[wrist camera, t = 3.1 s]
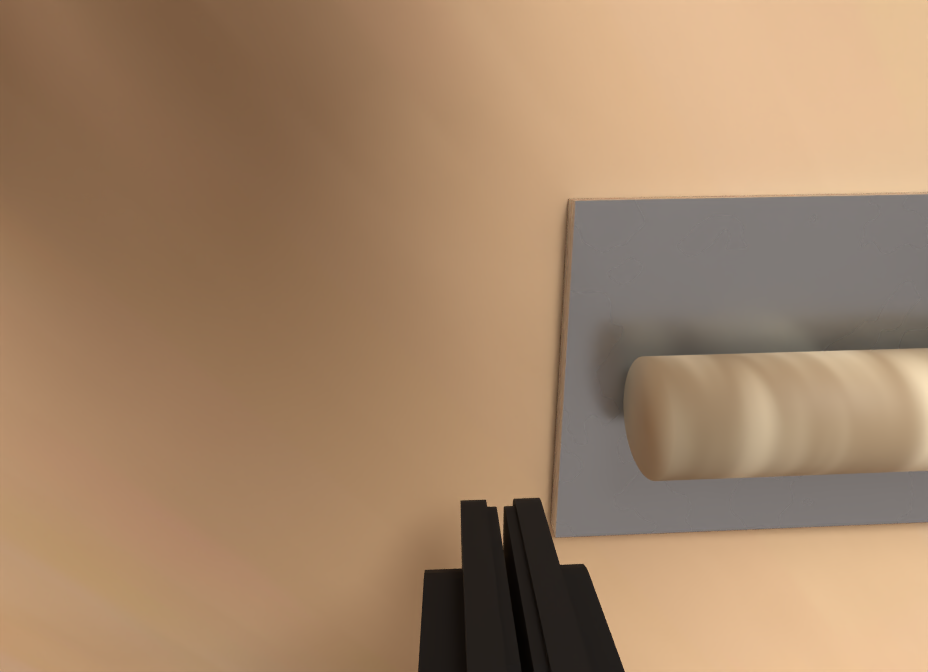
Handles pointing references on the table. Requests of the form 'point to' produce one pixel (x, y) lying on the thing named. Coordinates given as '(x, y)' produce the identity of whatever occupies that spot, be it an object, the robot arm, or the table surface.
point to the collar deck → (727, 342)
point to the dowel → (778, 414)
